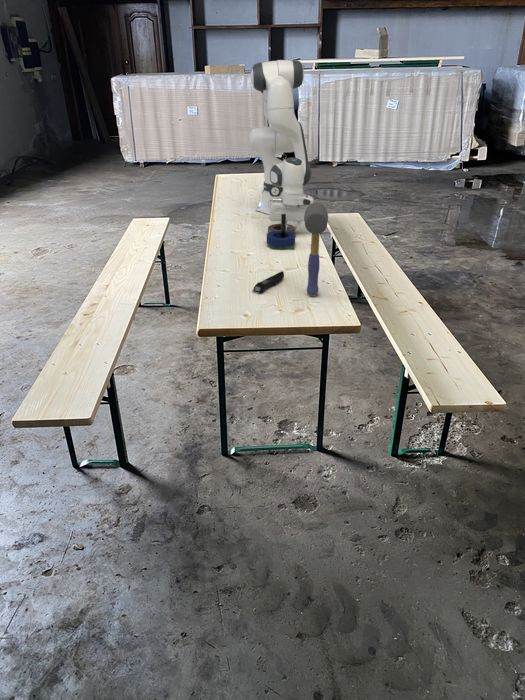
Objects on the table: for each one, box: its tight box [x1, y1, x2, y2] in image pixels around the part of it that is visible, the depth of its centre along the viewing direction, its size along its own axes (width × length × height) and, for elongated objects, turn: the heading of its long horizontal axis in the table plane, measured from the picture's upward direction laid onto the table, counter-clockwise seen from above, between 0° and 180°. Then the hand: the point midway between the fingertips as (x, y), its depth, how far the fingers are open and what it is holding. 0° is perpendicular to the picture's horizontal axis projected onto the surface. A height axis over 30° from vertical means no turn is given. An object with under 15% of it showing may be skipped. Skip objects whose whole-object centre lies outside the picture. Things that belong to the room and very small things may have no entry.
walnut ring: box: [267, 223, 296, 235], centre depth 231 cm, size 12×12×3 cm
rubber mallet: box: [303, 201, 329, 297], centre depth 170 cm, size 12×8×30 cm, turn 175°
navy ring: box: [266, 231, 296, 247], centre depth 219 cm, size 12×12×3 cm
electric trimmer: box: [252, 271, 285, 294], centre depth 183 cm, size 4×16×3 cm, turn 144°
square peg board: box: [271, 214, 295, 250], centre depth 217 cm, size 9×9×13 cm
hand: (291, 230), depth 231 cm, fingers closed on walnut ring, 2 cm apart
